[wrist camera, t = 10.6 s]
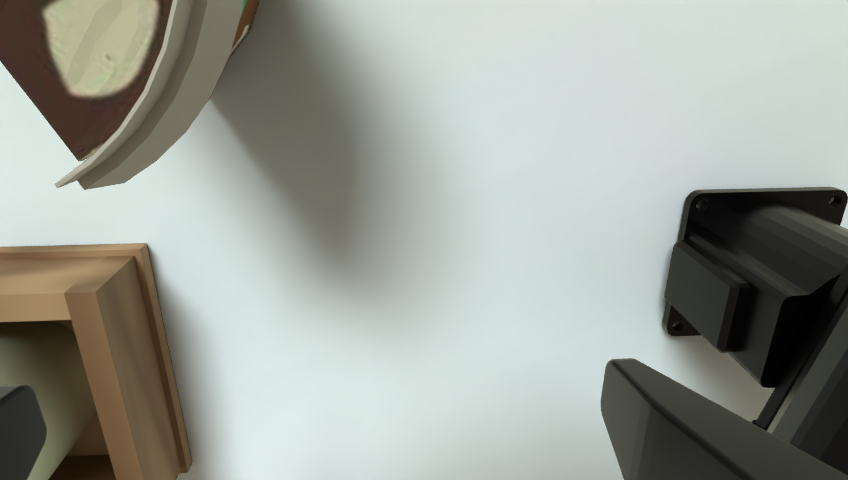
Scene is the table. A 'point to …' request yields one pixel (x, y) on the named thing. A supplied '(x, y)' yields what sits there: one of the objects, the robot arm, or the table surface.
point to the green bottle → (49, 384)
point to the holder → (106, 353)
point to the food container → (120, 72)
